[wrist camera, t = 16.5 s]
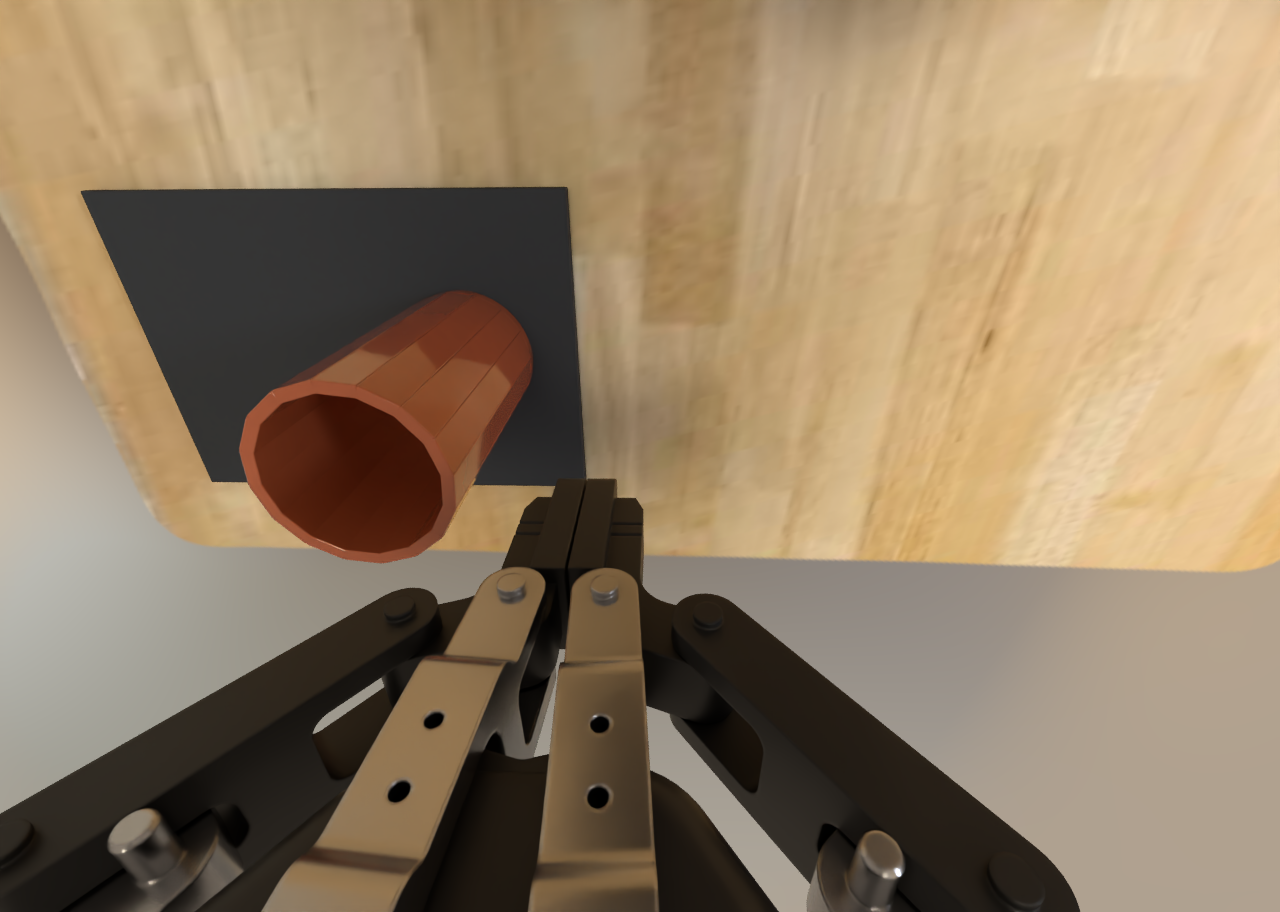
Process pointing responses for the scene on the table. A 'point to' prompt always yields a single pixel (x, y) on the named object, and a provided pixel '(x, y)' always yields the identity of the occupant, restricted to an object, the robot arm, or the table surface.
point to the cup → (389, 428)
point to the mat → (343, 296)
